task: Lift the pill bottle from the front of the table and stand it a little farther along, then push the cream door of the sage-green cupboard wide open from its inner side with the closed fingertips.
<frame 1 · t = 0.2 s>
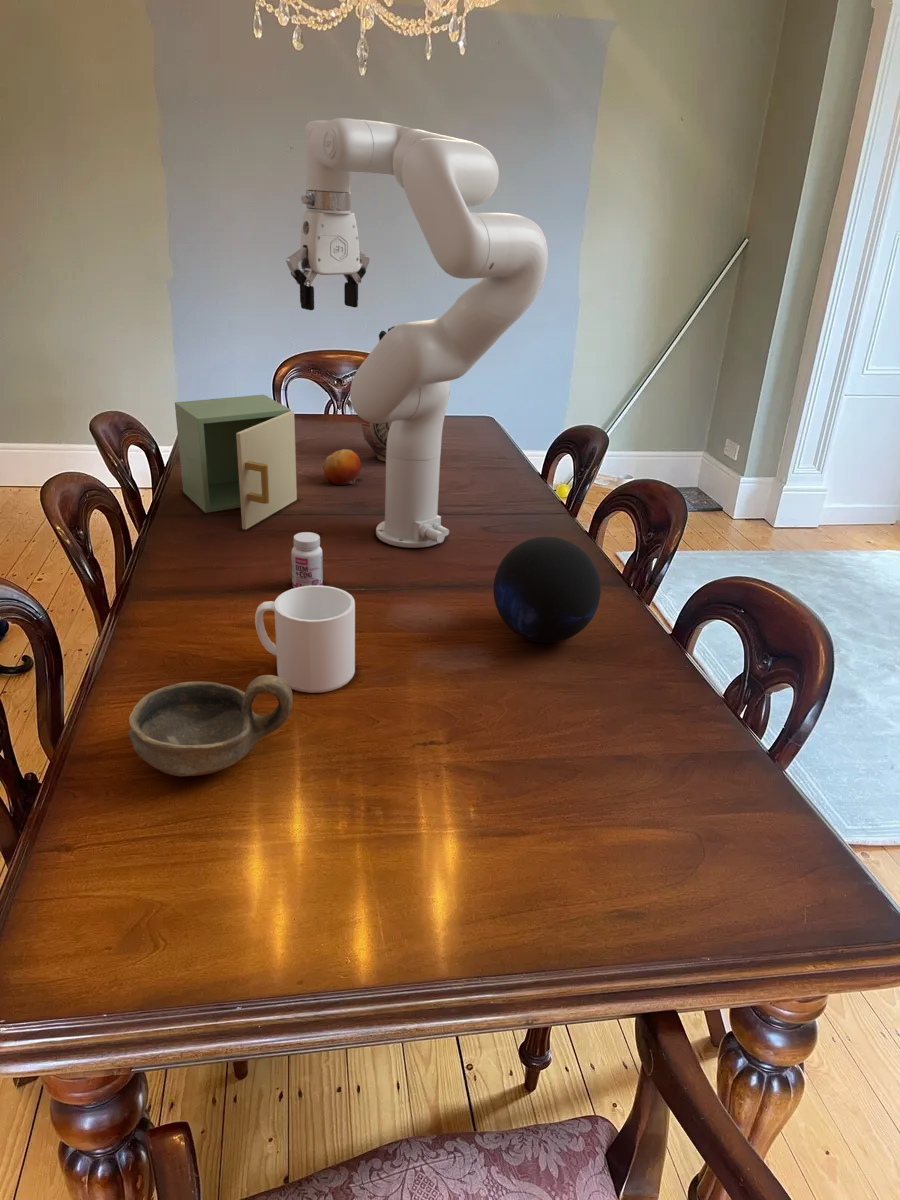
hand: (329, 307, 151), 37 cm above the table, tool pointing down, fingers open, 9 cm apart
ceramic jug: (395, 459, 194), on the table
cupboard: (238, 495, 166), on the table
door: (278, 470, 153), point 9 cm above the table, hinge at 35.0°
pill bottle: (307, 587, 132), on the table
fruit: (342, 482, 177), on the table
decorative sphere: (541, 637, 121), on the table
mug: (306, 673, 109), on the table
bowl: (214, 757, 93), on the table
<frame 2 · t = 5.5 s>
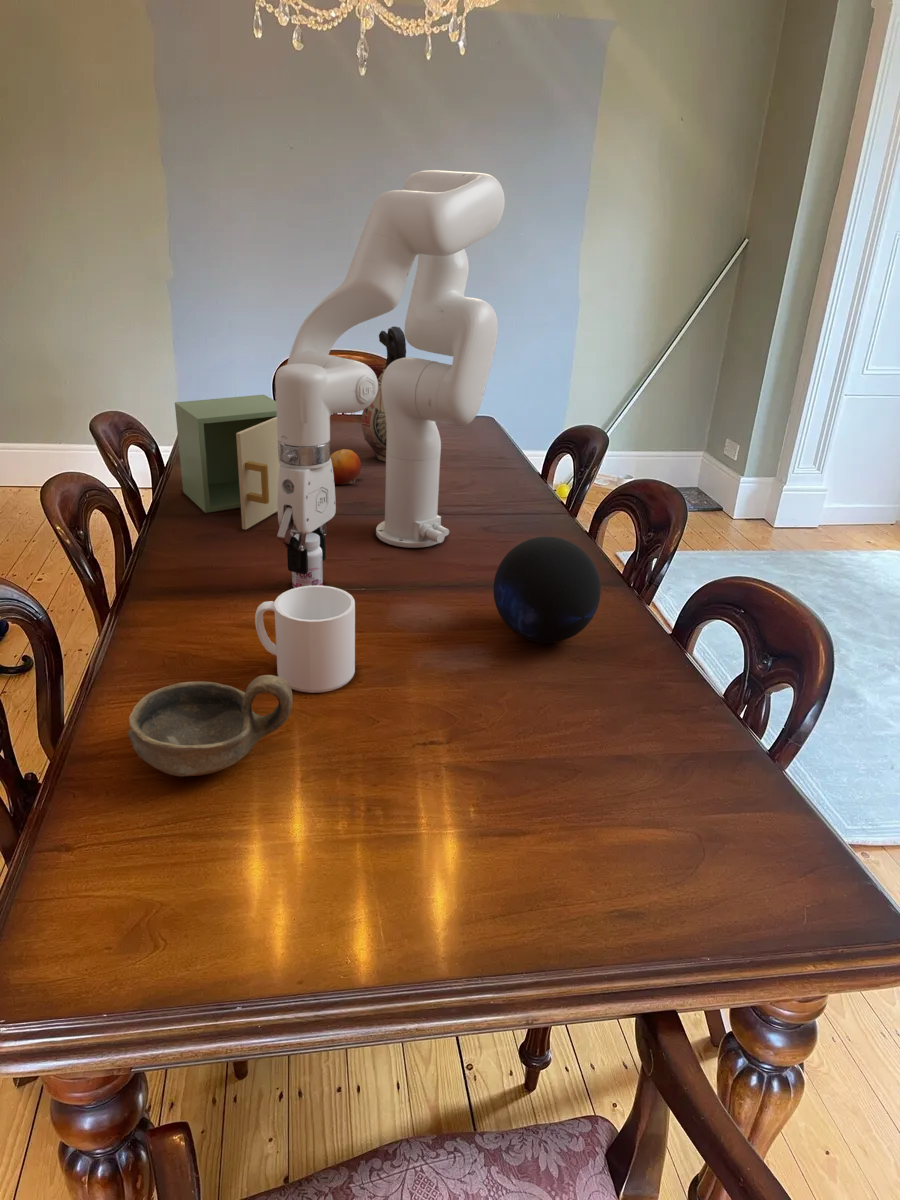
hand: (307, 564, 130), 4 cm above the table, tool pointing down, fingers closed on pill bottle, 4 cm apart
pill bottle: (307, 587, 132), on the table, touching gripper
everything else where it was.
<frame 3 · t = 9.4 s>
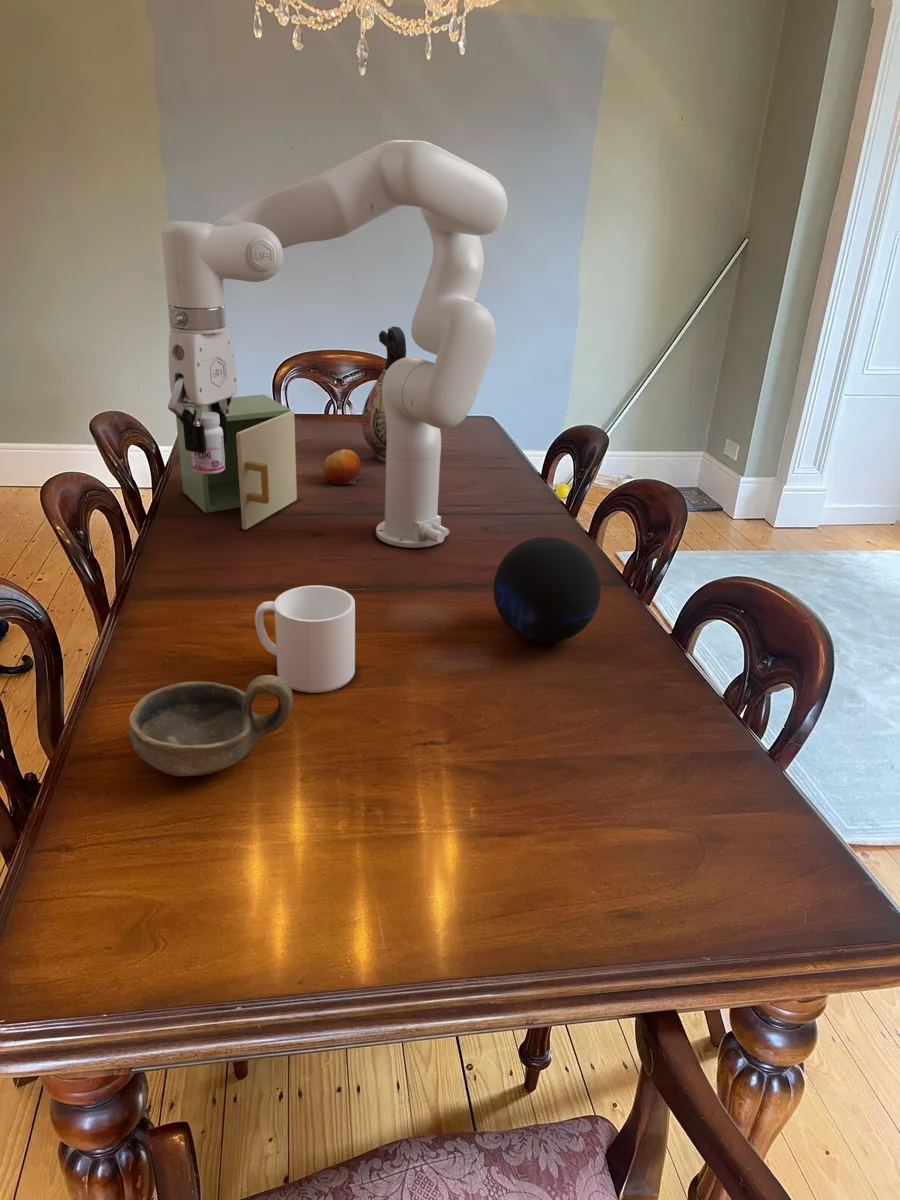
hand: (207, 445, 124), 21 cm above the table, tool pointing down, fingers closed on pill bottle, 4 cm apart
pill bottle: (209, 471, 126), point 17 cm above the table, touching gripper
everything else where it was.
when the fingers open (4 cm above the table, at t = 13.6 s): pill bottle stays where it is, on the table.
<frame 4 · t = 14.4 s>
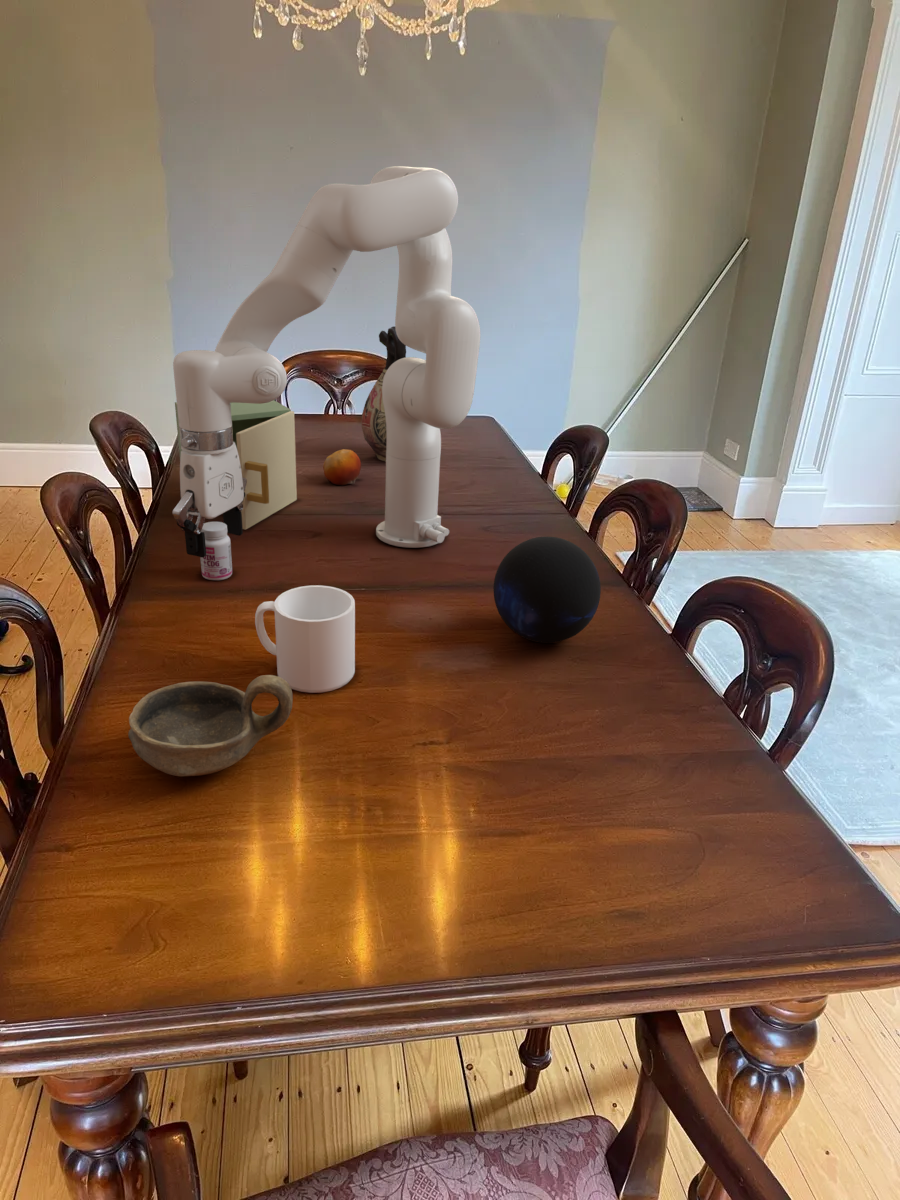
hand: (215, 544, 131), 5 cm above the table, tool pointing down, fingers open, 9 cm apart
pill bottle: (217, 576, 134), on the table
everything else where it was.
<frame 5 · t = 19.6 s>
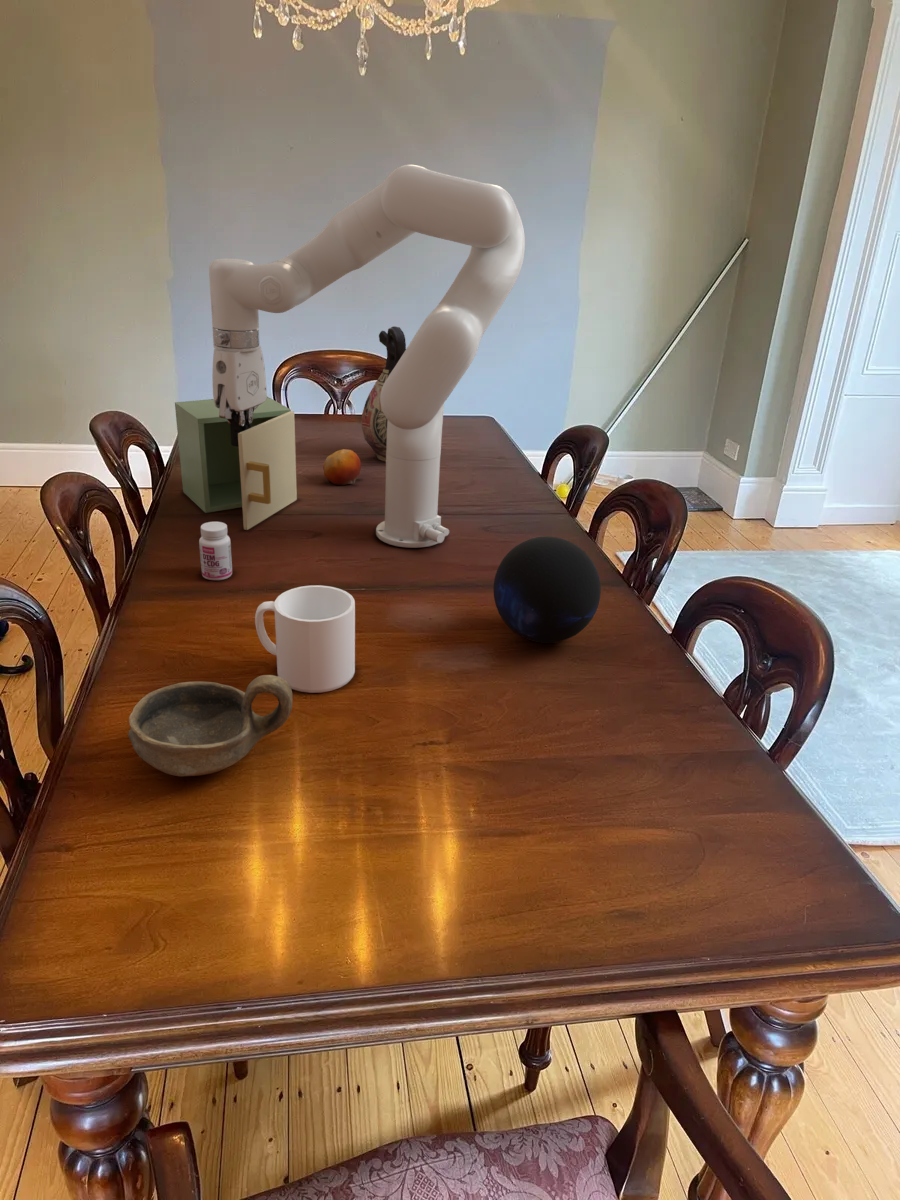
hand: (241, 445, 147), 15 cm above the table, tool pointing down, fingers closed
door: (279, 470, 153), point 9 cm above the table, hinge at 36.1°, touching gripper
everything else where it was.
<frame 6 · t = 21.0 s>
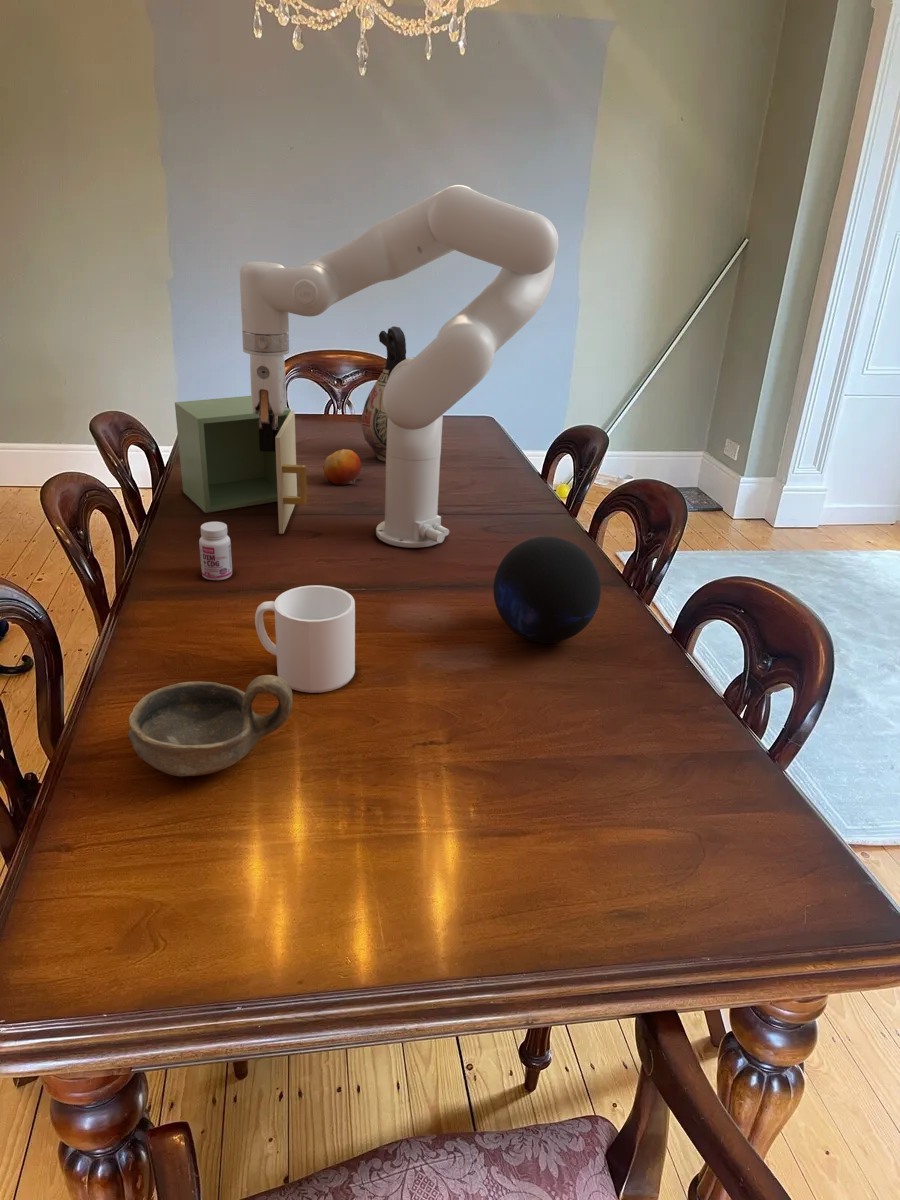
hand: (269, 450, 146), 15 cm above the table, tool pointing down, fingers closed
door: (298, 471, 154), point 9 cm above the table, hinge at 57.7°, touching gripper
everything else where it was.
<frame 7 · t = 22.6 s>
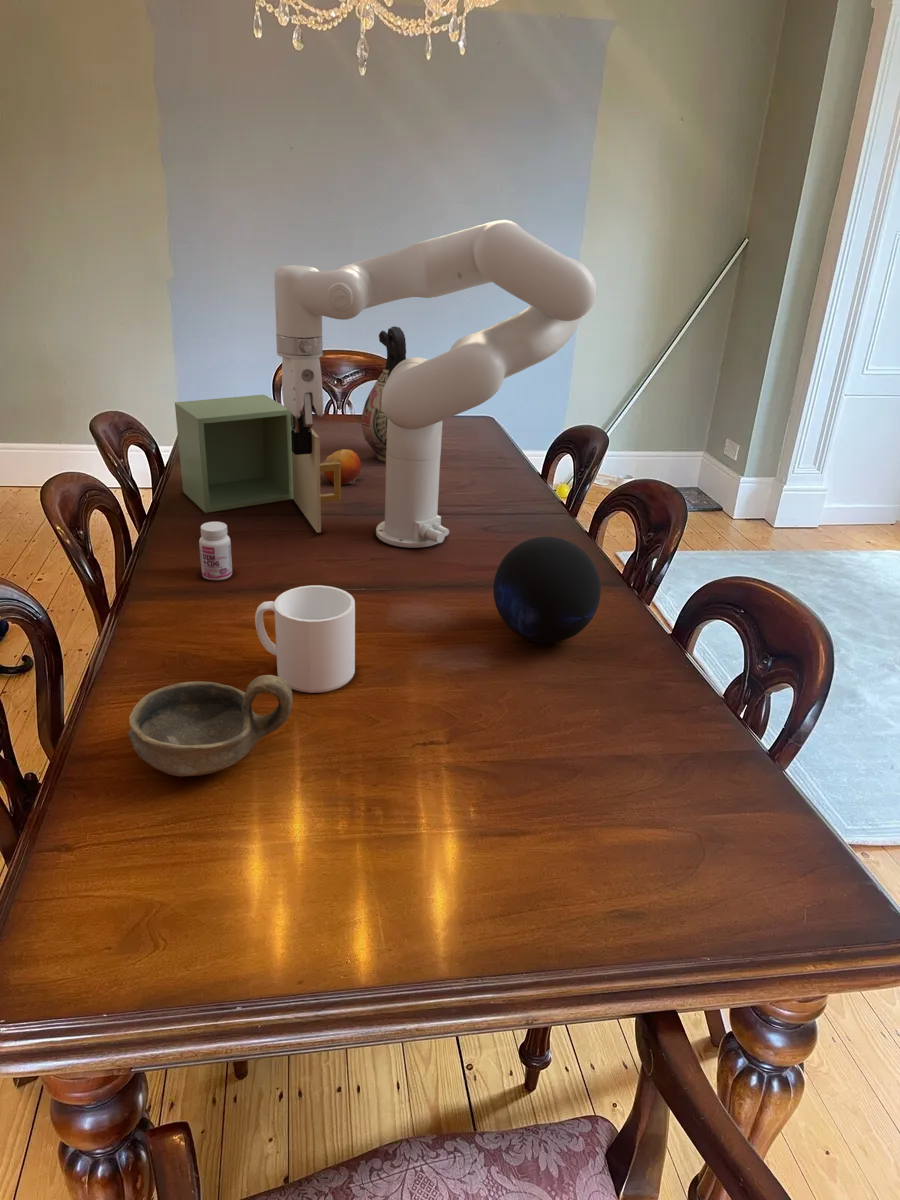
hand: (301, 452, 146), 14 cm above the table, tool pointing down, fingers closed
door: (316, 469, 155), point 9 cm above the table, hinge at 79.2°, touching gripper
everything else where it was.
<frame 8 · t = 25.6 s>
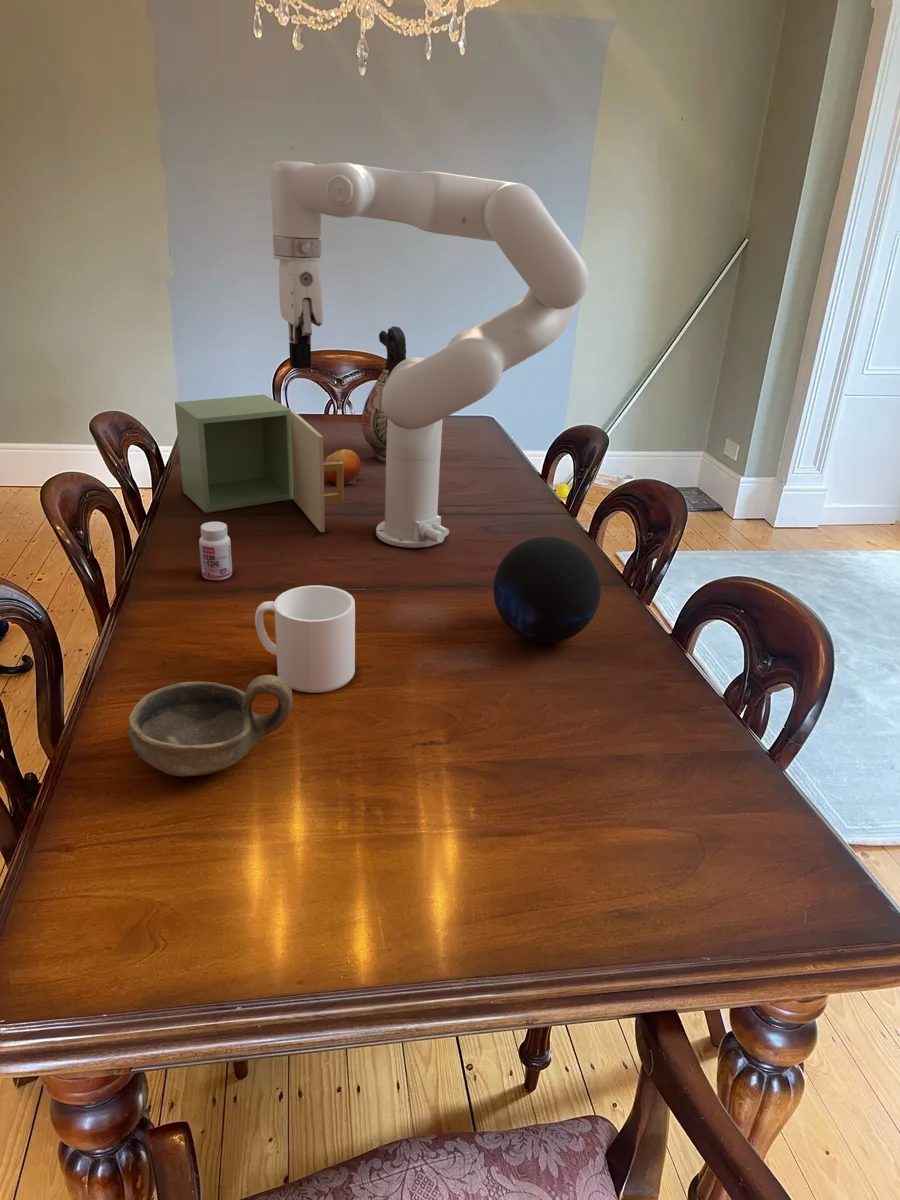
hand: (300, 367, 140), 29 cm above the table, tool pointing down, fingers closed
door: (317, 469, 155), point 9 cm above the table, hinge at 81.3°
everything else where it was.
at the end: door at +81° (first picture: +35°); pill bottle inside the target area (0.0 cm from its centre), on the table; pill bottle tilted 0° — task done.
